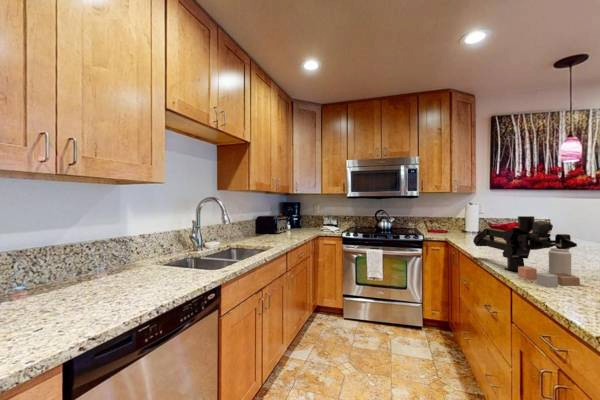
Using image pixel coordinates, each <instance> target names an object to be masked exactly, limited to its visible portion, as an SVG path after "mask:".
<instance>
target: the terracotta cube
mask: <svg viewBox="0 0 600 400" xmlns="http://www.w3.org/2000/svg"><path fill="white" fill-rule="evenodd" d="M537 274H538V269H537V268H534V267H531V266H524V267H518V272H517V276H518V277H519V278H521V279H524V280H537Z"/></svg>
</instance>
